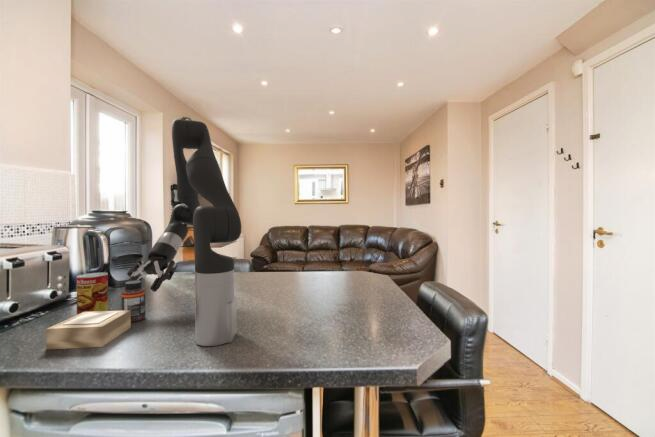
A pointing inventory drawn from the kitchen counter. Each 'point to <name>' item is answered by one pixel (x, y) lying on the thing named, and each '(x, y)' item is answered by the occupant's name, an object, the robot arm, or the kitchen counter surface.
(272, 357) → the kitchen counter surface
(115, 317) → the oak plinth
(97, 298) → the canned food
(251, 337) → the kitchen counter surface
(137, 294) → the supplement bottle
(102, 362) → the kitchen counter surface
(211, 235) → the robot arm
